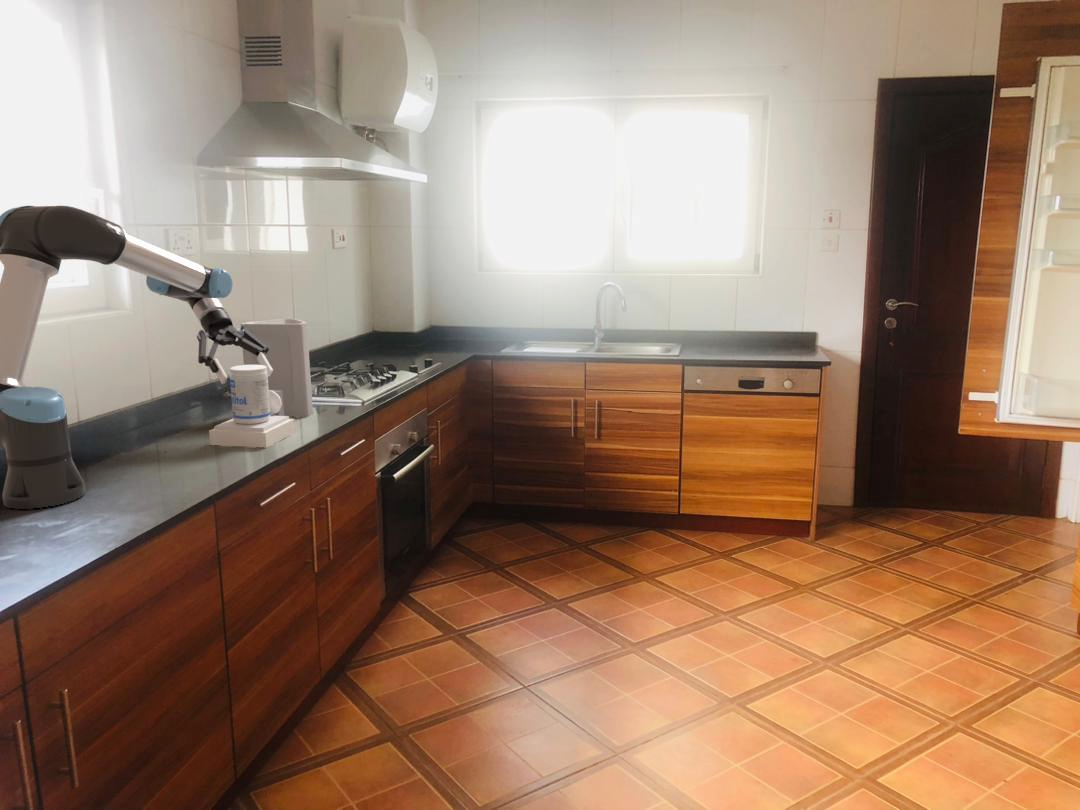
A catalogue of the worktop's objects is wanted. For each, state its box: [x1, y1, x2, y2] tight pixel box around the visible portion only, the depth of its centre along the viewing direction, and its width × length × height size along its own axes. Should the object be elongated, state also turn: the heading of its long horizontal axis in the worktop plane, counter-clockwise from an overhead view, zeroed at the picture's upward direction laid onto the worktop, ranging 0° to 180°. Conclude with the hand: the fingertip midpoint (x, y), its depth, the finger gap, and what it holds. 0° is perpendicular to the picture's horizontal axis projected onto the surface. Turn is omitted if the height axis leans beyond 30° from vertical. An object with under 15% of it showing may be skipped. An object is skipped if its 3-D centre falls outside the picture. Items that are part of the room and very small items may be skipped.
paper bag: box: [239, 318, 314, 418], centre depth 256 cm, size 19×15×28 cm
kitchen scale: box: [208, 390, 296, 449], centre depth 226 cm, size 21×16×12 cm
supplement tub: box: [229, 364, 270, 424], centre depth 223 cm, size 10×10×15 cm
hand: (248, 377), depth 223 cm, fingers open, 13 cm apart
